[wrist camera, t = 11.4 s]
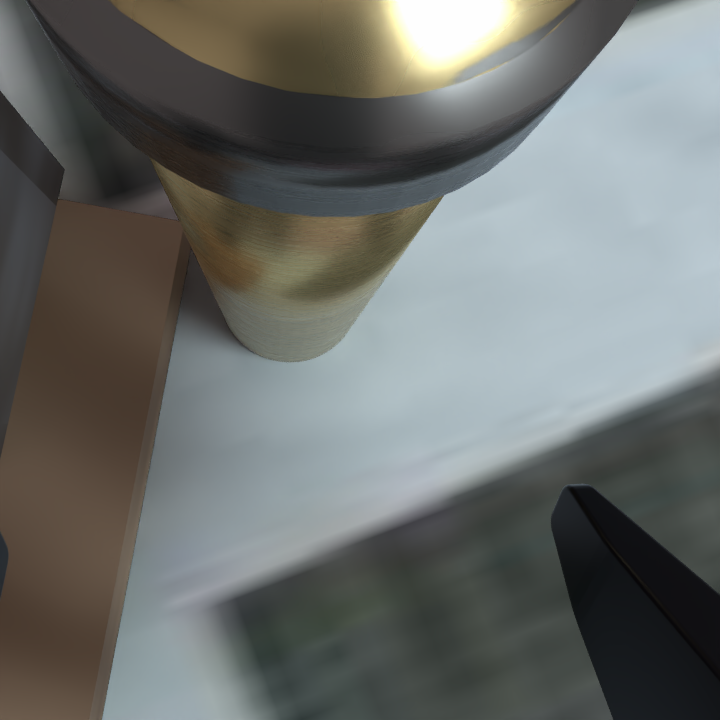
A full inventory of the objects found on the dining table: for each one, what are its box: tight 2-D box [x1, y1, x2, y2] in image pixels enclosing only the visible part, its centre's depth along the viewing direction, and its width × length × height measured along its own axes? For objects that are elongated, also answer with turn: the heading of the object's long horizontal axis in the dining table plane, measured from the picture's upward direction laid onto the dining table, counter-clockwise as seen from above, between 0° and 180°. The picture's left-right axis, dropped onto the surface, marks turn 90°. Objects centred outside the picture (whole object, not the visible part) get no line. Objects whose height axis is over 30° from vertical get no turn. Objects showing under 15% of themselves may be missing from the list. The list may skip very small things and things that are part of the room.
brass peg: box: [25, 0, 638, 362], centre depth 11 cm, size 5×5×14 cm
